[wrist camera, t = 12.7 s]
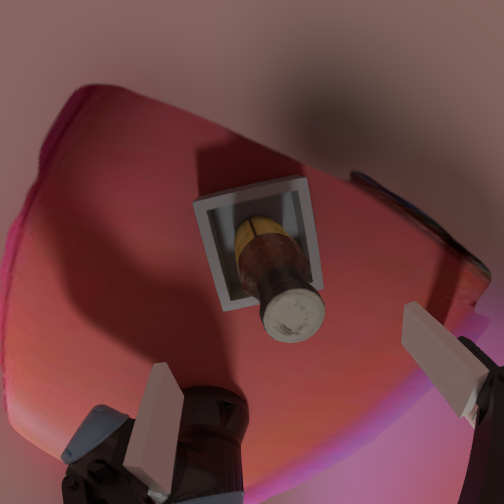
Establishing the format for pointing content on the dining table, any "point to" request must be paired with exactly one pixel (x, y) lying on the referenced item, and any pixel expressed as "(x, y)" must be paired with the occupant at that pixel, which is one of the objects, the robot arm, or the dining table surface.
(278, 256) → the sauce bottle
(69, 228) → the dining table surface
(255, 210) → the grey open box
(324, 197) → the dining table surface
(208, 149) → the dining table surface
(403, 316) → the robot arm
